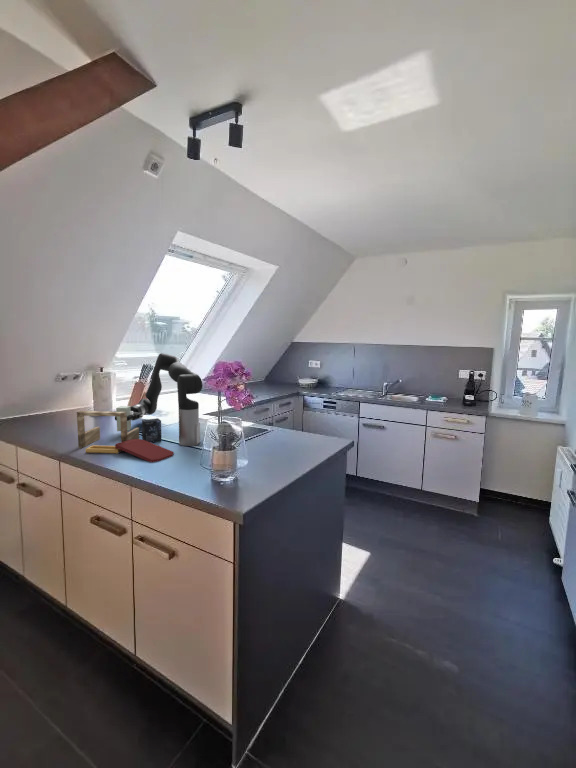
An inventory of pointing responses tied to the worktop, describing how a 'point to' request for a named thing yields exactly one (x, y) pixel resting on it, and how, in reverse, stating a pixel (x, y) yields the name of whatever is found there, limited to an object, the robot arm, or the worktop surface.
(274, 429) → the worktop surface
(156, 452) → the dark red bent panel
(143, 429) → the box
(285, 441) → the worktop surface
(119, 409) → the block
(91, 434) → the tunnel
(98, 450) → the tray
